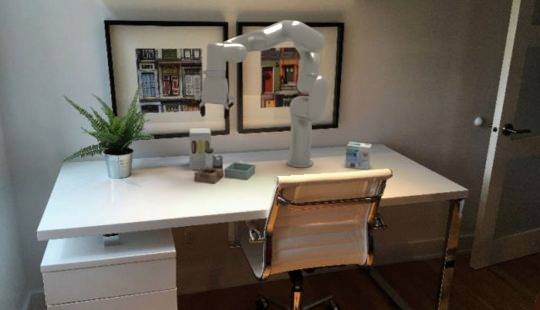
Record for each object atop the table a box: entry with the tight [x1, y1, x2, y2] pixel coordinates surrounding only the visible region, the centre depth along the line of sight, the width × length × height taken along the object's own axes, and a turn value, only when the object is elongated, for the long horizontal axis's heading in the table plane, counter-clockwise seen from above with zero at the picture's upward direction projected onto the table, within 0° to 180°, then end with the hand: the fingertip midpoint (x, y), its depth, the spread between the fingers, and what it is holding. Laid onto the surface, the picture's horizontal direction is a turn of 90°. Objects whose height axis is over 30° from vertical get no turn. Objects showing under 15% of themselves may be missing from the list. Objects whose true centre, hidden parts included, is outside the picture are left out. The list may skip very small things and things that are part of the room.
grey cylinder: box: [213, 154, 224, 170], centre depth 206 cm, size 6×6×8 cm
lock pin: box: [205, 147, 214, 173], centre depth 197 cm, size 4×4×13 cm
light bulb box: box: [344, 141, 372, 171], centre depth 219 cm, size 11×7×11 cm, turn 71°
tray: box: [224, 161, 256, 181], centre depth 204 cm, size 10×10×4 cm
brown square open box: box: [194, 167, 224, 185], centre depth 198 cm, size 9×9×4 cm
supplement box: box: [188, 127, 212, 170], centre depth 212 cm, size 10×9×17 cm
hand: (214, 117), depth 191 cm, fingers open, 9 cm apart
